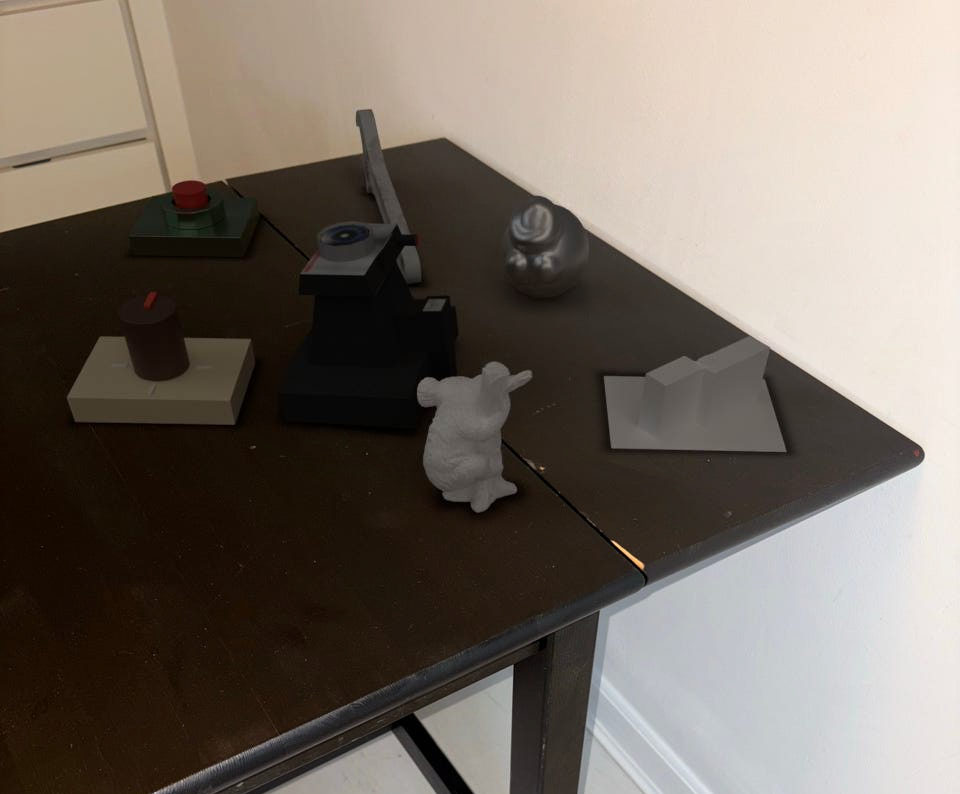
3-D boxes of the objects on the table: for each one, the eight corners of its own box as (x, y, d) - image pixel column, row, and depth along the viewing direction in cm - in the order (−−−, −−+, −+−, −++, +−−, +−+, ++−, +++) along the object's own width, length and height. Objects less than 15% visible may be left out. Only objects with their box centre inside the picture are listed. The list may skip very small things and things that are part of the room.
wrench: (405, 312, 104) (358, 167, 121) (422, 310, 105) (372, 165, 122) (403, 242, 98) (353, 99, 115) (421, 240, 98) (369, 98, 115)
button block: (133, 255, 107) (124, 219, 104) (156, 215, 114) (148, 179, 111) (243, 257, 107) (237, 220, 104) (260, 216, 113) (254, 181, 111)
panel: (75, 422, 86) (65, 395, 84) (107, 360, 92) (99, 334, 91) (235, 425, 86) (229, 398, 84) (255, 362, 92) (250, 337, 90)
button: (171, 210, 106) (168, 193, 105) (179, 196, 109) (175, 179, 107) (204, 210, 106) (201, 194, 105) (211, 196, 109) (208, 180, 107)
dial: (182, 382, 85) (167, 321, 81) (127, 380, 86) (109, 319, 81) (195, 352, 89) (181, 292, 84) (142, 351, 89) (126, 290, 85)
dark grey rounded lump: (478, 286, 103) (479, 189, 95) (554, 265, 106) (560, 169, 99) (525, 325, 97) (529, 225, 90) (603, 301, 101) (613, 202, 93)
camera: (312, 190, 87) (477, 190, 84) (343, 339, 97) (491, 344, 94) (245, 274, 76) (430, 278, 73) (287, 431, 87) (451, 440, 83)
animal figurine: (534, 478, 81) (542, 347, 72) (514, 530, 76) (520, 397, 67) (435, 461, 82) (431, 330, 73) (411, 511, 78) (402, 378, 69)
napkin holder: (764, 378, 91) (778, 321, 87) (788, 452, 83) (805, 393, 79) (602, 376, 91) (608, 319, 87) (611, 449, 83) (618, 391, 79)
